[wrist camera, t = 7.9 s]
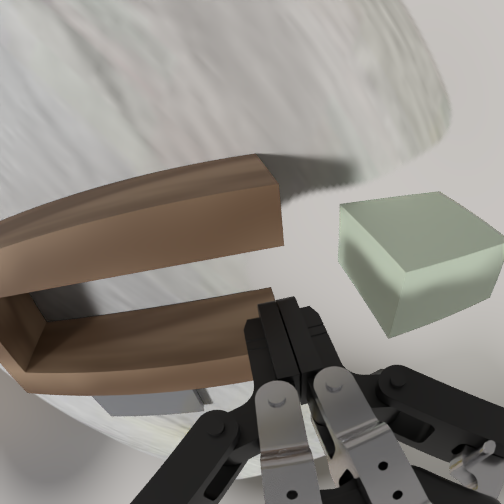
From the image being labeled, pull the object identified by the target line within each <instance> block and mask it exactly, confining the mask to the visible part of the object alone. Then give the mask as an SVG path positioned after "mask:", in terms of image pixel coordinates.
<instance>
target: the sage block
mask: <svg viewBox="0 0 504 504" xmlns="http://www.w3.org/2000/svg"><path fill="white" fill-rule="evenodd" d="M339 216H340V217H339V248H338V262H339V263H340V265H341V266H342V268H343V269H344V271H345V272H346V273H347V275H348V277H349V278H350V280H351V281H352V283H353V284H354V286H355V287H356V289H357V290H358V292H359V293H360V295H361V296H362V298H363V299H364V301H365V302H366V304H367V305H368V307H369V308H370V310H371V312H372V313H373V315H374V316H375V318H376V319H377V321H378V323H379V324H380V326H381V327H382V329H383V331H384V332H385V334H386V336H387V337H388V338H392V337H395V336H397V335H400V334H403V333H406V332H409V331H411V330H414V329H417V328H420V327H422V326H425V325H428V324H430V323H433V322H435V321H438V320H440V319H442V318H445V317H448V316H450V315H452V314H455V313H457V312H459V311H462V310H464V309H466V308H468V307H471V306H473V305H475V304H477V303H479V302H481V301H484V300H486V299H487V298H490V296H491V293H492V291H493V288H494V286H495V284H496V281H497V278H498V276H499V273H500V270H501V268H502V265H503V262H504V236H503V235H502V234H501V233H500V232H498V231H497V230H496V229H494V228H493V227H492V226H490V225H489V224H487V223H486V222H484V221H483V220H482V219H480V218H479V217H478V216H476V215H474V214H473V213H472V212H470V211H469V210H467V209H466V208H464V207H463V206H461V205H460V204H458V203H457V202H455V201H454V200H452V199H451V198H449V197H447V196H446V195H444V194H442V193H441V192H439V191H438V192H429V193H421V194H412V195H404V196H396V197H388V198H381V199H374V200H366V201H359V202H351V203H344V204H340V214H339Z"/></svg>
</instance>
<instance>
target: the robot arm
mask: <svg viewBox="0 0 504 504" xmlns="http://www.w3.org/2000/svg"><path fill="white" fill-rule="evenodd" d="M257 307H258V314H259V317H258V318H253V319H248V320H247V321H246V324H245V327H244V330H243V331H244V336H245V341H246V346H247V351H248V356H249V361H250V366H251V371H252V376H253V381H254V391H253V394H252V396H251V398H250V399H249V400H248V401H247V402H246V403H245V404H244V405H242V406H240V407H238V408H236V409H234V410H232V411H230V412H226V411H223V410H212V411H209V412H206V413H204V414H203V415H202V416H200V418H199V419H198V420H197V421H196V423H195V424H194V425H193V426H192V428H191V429H190V430H189V432H188V433H187V434H186V436H185V437H184V438H183V439H182V441H181V442H180V443H179V445H178V446H177V447H176V448H175V450H174V451H173V452H172V454H171V455H170V456H169V457H168V459H167V460H166V461H165V462H164V464H163V465H162V466H161V468H160V469H159V470H158V471H157V472H156V474H155V475H154V476H153V477H152V478H151V480H150V481H149V482H148V483H147V484H146V486H145V487H144V488H143V489H142V490H141V491H140V493H139V494H138V495H137V496H136V497H135V499H134V500H133V501H132V502H131V503H130V504H218V503H219V502H220V500H221V499H222V497H223V496H224V495H225V493H226V492H227V490H228V489H229V487H230V486H231V485H232V483H233V482H234V480H235V479H236V477H237V476H238V474H239V473H240V471H241V470H242V468H243V467H244V465H245V464H246V462H247V461H248V459H250V458H252V457H254V456H256V455H258V454H260V453H261V457H260V462H261V473H262V481H263V490H264V498H265V504H501V503H500V502H499V501H498V500H497V498H498V496H499V493H500V491H501V489H502V486H503V484H504V408H503V407H501V406H498V405H496V404H493V403H490V402H488V401H485V400H483V399H480V398H478V397H476V396H473V395H470V394H468V393H466V392H463V391H461V390H459V389H456V388H454V387H451V386H449V385H446V384H444V383H442V382H439V381H437V380H435V379H433V378H430V377H428V376H426V375H423V374H421V373H419V372H416V371H414V370H412V369H410V368H408V367H405V366H402V365H392V366H389V367H387V368H385V369H384V370H383V371H382V372H381V374H375V375H359V374H355V373H352V372H350V371H348V370H347V369H346V368H345V367H344V366H343V365H342V363H341V361H340V359H339V357H338V355H337V352H336V351H335V348H334V346H333V344H332V342H331V340H330V337H329V335H328V334H327V331H326V328H325V326H324V325H323V322H322V320H321V318H320V316H319V314H318V313H317V312H316V311H315V310H314V309H312V308H311V307H310V306H307V307H303V308H299V306H298V304H297V301H296V299H295V297H294V296H293V297H289V298H284V299H279V300H276V301H270V302H265V303H260V304H257ZM300 402H301V405H303V404H307V403H308V405H309V408H310V411H311V422H312V424H313V426H314V429H315V431H316V434H317V436H318V438H319V441H320V443H321V446H322V448H323V450H324V453H325V455H326V458H327V460H328V464H329V470H330V473H331V476H332V478H333V481H334V483H335V486H336V489H327V490H319V485H318V480H317V475H316V470H315V465H314V460H313V456H312V452H311V449H310V448H309V445H308V440H307V435H306V430H305V426H304V421H303V416H302V411H301V406H300ZM397 440H398V441H400V442H402V443H404V444H406V445H409V446H411V447H413V448H416V449H418V450H420V451H422V452H424V453H427V454H429V455H431V456H434V457H436V458H439V459H441V460H444V461H446V462H449V463H450V466H449V469H450V470H449V472H450V475H451V476H453V477H454V478H455V479H456V480H458V481H459V482H461V484H462V485H459V484H457V483H454V482H452V481H450V480H447V479H445V478H443V477H441V476H438V475H436V474H434V473H432V472H429V471H427V470H425V469H423V468H420V467H417V466H413V465H410V463H409V461H408V459H407V457H406V456H405V454H404V452H403V450H402V448H401V446H400V445H399V443H398V441H397Z"/></svg>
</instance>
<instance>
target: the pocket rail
mask: <svg viewBox="0 0 504 504" xmlns="http://www.w3.org/2000/svg"><path fill="white" fill-rule="evenodd" d="M279 246H284V240H283V227H282V216H281V203H280V192H279V183H278V182H277V181H276V179H275V178H274V177H273V175H272V174H271V173H270V172H269V170H268V169H267V168H266V166H265V165H264V164H263V162H262V161H261V160H260V159H259V157H258V156H257V155H256V154H250V155H243V156H237V157H231V158H225V159H219V160H213V161H208V162H203V163H197V164H192V165H187V166H183V167H178V168H173V169H169V170H164V171H160V172H155V173H151V174H147V175H143V176H139V177H135V178H131V179H127V180H123V181H119V182H115V183H112V184H108V185H104V186H101V187H97V188H94V189H91V190H87V191H84V192H81V193H77V194H74V195H71V196H68V197H65V198H62V199H59V200H56V201H53V202H50V203H47V204H44V205H41V206H38V207H35V208H33V209H30V210H27V211H24V212H22V213H19V214H17V215H14V216H11V217H9V218H6V219H4V220H1V221H0V363H1V364H2V366H3V367H4V368H5V369H6V370H7V371H8V372H9V374H10V375H11V376H12V377H13V378H14V379H15V380H16V381H17V382H18V383H19V384H20V386H22V387H23V388H24V390H25V391H26V392H27V393H35V394H49V395H75V396H109V395H135V394H151V393H164V392H175V391H184V390H193V389H201V388H209V387H216V386H223V385H229V384H235V383H241V382H247V381H252V380H253V376H252V371H251V366H250V361H249V356H248V351H247V346H246V341H245V336H244V331H243V330H244V327H245V324H246V321H247V320H248V319H253V318H258V317H259V314H258V307H257V304H260V303H265V302H270V301H275V299H274V295H273V292H272V289H271V287H269V288H264V289H259V290H253V291H248V292H243V293H237V294H232V295H226V296H221V297H215V298H210V299H204V300H198V301H192V302H186V303H180V304H174V305H168V306H161V307H155V308H149V309H142V310H135V311H129V312H122V313H115V314H107V315H100V316H92V317H85V318H77V319H69V320H60V321H52V322H46V320H45V319H44V317H43V316H42V314H41V312H40V311H39V309H38V308H37V306H36V304H35V303H34V301H33V299H32V298H31V296H30V294H29V292H34V291H39V290H45V289H50V288H56V287H61V286H67V285H72V284H77V283H83V282H88V281H94V280H99V279H105V278H110V277H115V276H121V275H126V274H132V273H137V272H143V271H148V270H154V269H159V268H164V267H170V266H175V265H181V264H186V263H192V262H197V261H203V260H208V259H213V258H219V257H224V256H230V255H235V254H241V253H246V252H252V251H257V250H262V249H268V248H273V247H279Z"/></svg>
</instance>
